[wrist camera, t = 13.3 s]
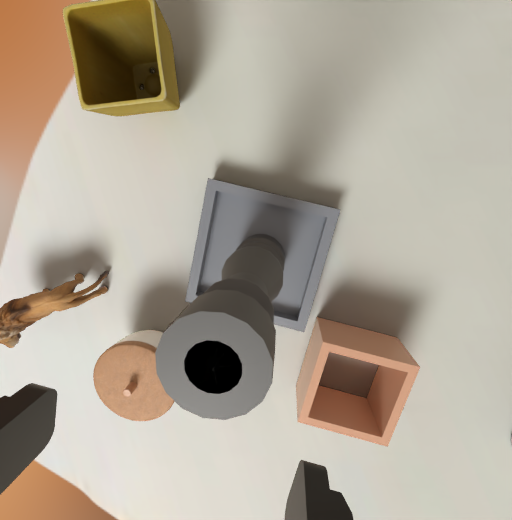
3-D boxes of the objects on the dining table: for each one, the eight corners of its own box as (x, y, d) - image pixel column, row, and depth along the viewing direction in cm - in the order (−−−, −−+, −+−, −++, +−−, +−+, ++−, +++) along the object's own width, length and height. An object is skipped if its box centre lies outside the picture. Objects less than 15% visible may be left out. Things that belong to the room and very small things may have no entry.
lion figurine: (46, 329, 45) (-12, 361, 36) (24, 299, 44) (-40, 325, 36) (120, 285, 42) (77, 308, 33) (99, 253, 42) (49, 268, 33)
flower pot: (195, 122, 36) (166, 99, 28) (128, 129, 37) (79, 110, 29) (186, 41, 35) (152, -10, 26) (116, 51, 36) (60, 5, 27)
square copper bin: (397, 337, 40) (420, 367, 33) (371, 405, 42) (387, 446, 35) (316, 316, 40) (322, 341, 33) (296, 385, 43) (297, 421, 36)
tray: (336, 208, 37) (340, 209, 34) (303, 324, 41) (304, 332, 38) (213, 179, 38) (208, 178, 35) (191, 294, 41) (185, 301, 39)
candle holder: (242, 228, 38) (158, 291, 13) (290, 239, 37) (293, 324, 13) (233, 274, 39) (142, 405, 15) (278, 285, 39) (262, 438, 14)
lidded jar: (116, 364, 45) (73, 407, 36) (139, 305, 43) (99, 336, 34) (179, 395, 45) (152, 446, 36) (206, 338, 43) (184, 377, 34)
